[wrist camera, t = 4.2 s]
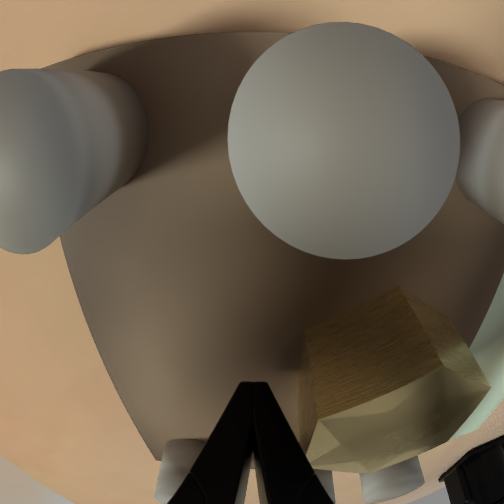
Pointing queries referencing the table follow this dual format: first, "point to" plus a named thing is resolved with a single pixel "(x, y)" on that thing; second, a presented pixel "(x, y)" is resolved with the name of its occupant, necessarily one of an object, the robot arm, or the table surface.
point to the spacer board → (227, 261)
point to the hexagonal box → (383, 384)
